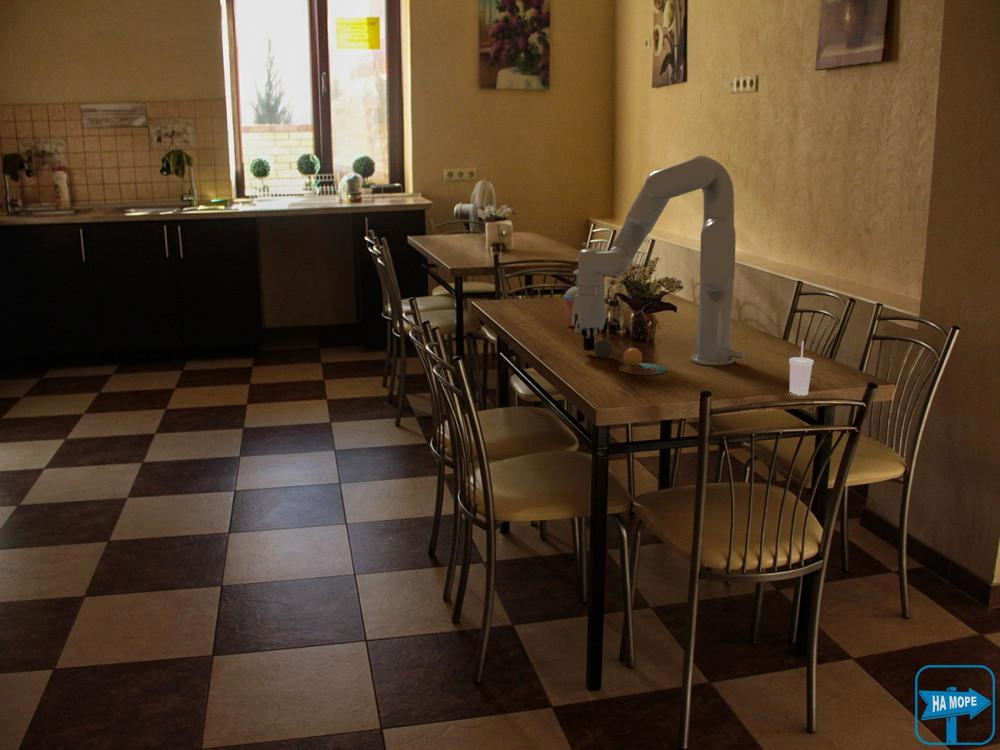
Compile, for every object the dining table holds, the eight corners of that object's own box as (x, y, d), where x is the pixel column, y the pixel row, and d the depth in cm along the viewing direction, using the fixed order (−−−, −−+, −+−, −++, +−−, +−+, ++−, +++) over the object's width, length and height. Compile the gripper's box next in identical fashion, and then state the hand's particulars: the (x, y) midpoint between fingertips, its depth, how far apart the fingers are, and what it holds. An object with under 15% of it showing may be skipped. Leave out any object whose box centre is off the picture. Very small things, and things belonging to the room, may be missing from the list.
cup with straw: (587, 329, 333) (588, 276, 329) (561, 328, 335) (562, 276, 331) (590, 323, 342) (591, 273, 338) (564, 322, 344) (565, 272, 339)
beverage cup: (809, 397, 252) (814, 344, 248) (785, 394, 254) (789, 342, 250) (811, 391, 257) (816, 339, 254) (787, 389, 259) (791, 337, 256)
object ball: (638, 347, 285) (641, 365, 285) (619, 350, 285) (623, 369, 285) (641, 345, 280) (645, 364, 279) (623, 349, 279) (627, 367, 279)
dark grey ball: (610, 338, 295) (612, 356, 295) (592, 340, 295) (594, 358, 295) (612, 339, 289) (614, 357, 290) (593, 341, 289) (596, 360, 290)
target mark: (672, 366, 282) (673, 366, 282) (658, 377, 270) (658, 377, 270) (626, 361, 288) (626, 361, 288) (610, 372, 276) (611, 371, 276)
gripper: (601, 286, 299) (599, 344, 304) (562, 290, 291) (561, 350, 296) (617, 289, 293) (615, 349, 298) (578, 294, 285) (577, 355, 290)
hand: (588, 349), depth 297 cm, fingers closed
